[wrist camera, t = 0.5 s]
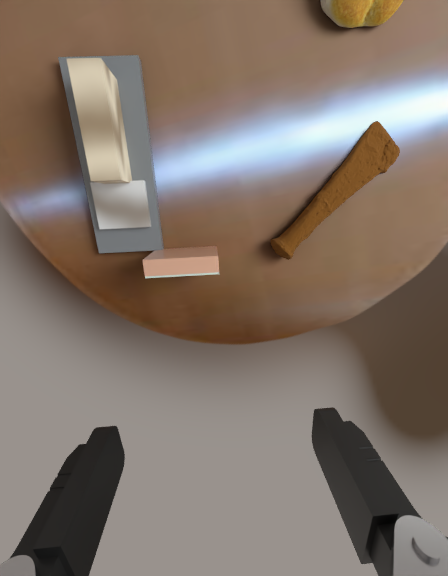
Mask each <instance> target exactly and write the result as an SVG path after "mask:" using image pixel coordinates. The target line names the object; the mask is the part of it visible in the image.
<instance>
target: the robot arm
mask: <svg viewBox="0 0 448 576" xmlns="http://www.w3.org/2000/svg"><path fill="white" fill-rule="evenodd" d="M312 443H313V448H314V451H315V454H316V456H317V459H318V461H319V464H320V466H321V468H322V471H323V473H324V476H325V478H326V480H327V483H328V485H329V488H330V490H331V492H332V495H333V497H334V499H335V502H336V504H337V507H338V509H339V511H340V514H341V516H342V519H343V521H344V524H345V526H346V528H347V531H348V533H349V536H350V538H351V540H352V543H353V545H354V548H355V550H356V552H357V555H358V557H359V560H360V562H361V564H367V563H373V564H374V567H375V569H376V571H377V573H378V575H379V576H448V537H446V536H444V535H443V534H442V533H441V532H440V531H439V530H438V529H437V528H436V527H434V526H433V525H432V524H430V523H429V522H427V521H425V520H424V519H422V518H421V516H420V515H419V514H418V513H417V512H416V510H415V509H414V508H413V506H412V505H411V503H410V502H409V500H408V499H407V497H406V495H405V494H404V492H403V491H402V489H401V488H400V487H399V485H398V483H397V482H396V480H395V479H394V478H393V476H392V474H391V473H390V471H389V470H388V468H387V467H386V465H385V464H384V462H383V461H381V458H380V456H379V455H378V453H377V452H376V450H375V449H373V446H372V444H371V443H370V441H369V440H368V438H367V437H366V435H365V434H364V432H363V431H362V430H360V429H359V428H358V427H357V426H356V425H355V424H354V423H352V422H351V421H346V422H343V420H342V419H341V417H340V415H339V413H338V412H337V410H336V409H335V408H322V409H315V410H314V416H313V427H312ZM124 458H125V457H124V449H123V446H122V442H121V439H120V435H119V432H118V428H117V427H116V426H110V427H98V428H95V429H94V430H93V432H92V434H91V436H90V438H89V439H88V441H87V443H86V444H80V445H79V446H78V447H77V448H76V449H75V450H74V451H73V452H72V453H71V454H70V455H69V456H68V457H67V459H66V461H65V462H64V464H63V466H62V467H61V470H60V471H59V473H58V476H57V478H55V480H54V482H53V484H52V485H51V487H50V491H49V492H48V493H47V494H46V496H45V498H44V500H43V502H42V504H41V505H40V508H39V509H38V511H37V512H36V514H35V516H34V518H33V520H32V522H31V523H30V525H29V527H28V529H27V531H26V532H25V534H24V536H23V538H22V539H21V541H20V543H19V545H18V546H17V548H16V550H15V551H14V553H13V554H12V556H11V557H10V559H8V560H7V561H5V562H3V563H2V564H1V565H0V576H89V573H90V570H91V567H92V564H93V561H94V558H95V555H96V551H97V548H98V545H99V542H100V539H101V536H102V533H103V530H104V527H105V523H106V521H107V518H108V514H109V511H110V508H111V505H112V502H113V499H114V496H115V493H116V490H117V487H118V484H119V480H120V477H121V474H122V471H123V467H124Z"/></svg>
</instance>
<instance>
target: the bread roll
mask: <svg viewBox="0 0 448 576" xmlns="http://www.w3.org/2000/svg"><path fill="white" fill-rule="evenodd" d="M320 1H321V7H322V9H323V11H324V12H325V13H326V15H327V16H328V17H330V18H331V19H332V20H333V21H334V22H335V23H336V24H337V25H338V26H341V27H348V28H354V27H359V26H377V25H381V24H383V23H384V22H386V21H387V20H388V19H389V18H390V17H391V16H392V15H393V14H394V13H395V11H396V10H397V9H398V7H399V6H400V5H401V3H402V2H403V0H320Z"/></svg>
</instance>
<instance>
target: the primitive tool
mask: <svg viewBox="0 0 448 576" xmlns="http://www.w3.org/2000/svg"><path fill="white" fill-rule="evenodd" d="M399 153H400V150H399V147H398V146H397V145H395V142H394V141H393V139H392V138H391V137H390V135H389V134H388V133H387V131H386V130H385V129H384V128H383V126H382V125H381V124H380V123H379V122H378V121H376V122H374V123H373V124H372V125H370V127H369V128H368V130H367V131H366V132H365V133H364V134H363V136H362V137H361V138H360V140H359V141H358V142H357V144H356V145H355V146H354V148H353V149H352V151H351V152H350V154H349V155H348V156H347V158H346V159H345V161H344V162H343V163H342V165H341V166H340V167H339V168H338V169H337V171H336V172H335V173H333V174H332V177H331V179H330V180H329V181H328V182H327V183H326V184H325V186H324V187H323V188H322V189H321V190H320V192H319V193H318V194H317V195H316V196H315V197H314V199H313V200H312V202H311V203H310V204H309V205H308V206H307V207H306V209H305V210H304V211H303V212H302V213H301V214H300V216H299V217H298V218H297V219H296V221H295V222H294V223H293V224H292V225H291V226H290V227H289V228H288V229H287V230H286V231H285V232H284V233H282V234H281V236H280V237H278V238H275V239H271V246H272V248H273V249H274V250H275V253H277V254H278V255H280V257H283V258H286V259H291V258H292V257H293V253H294V251H295V249H296V248H297V247H298V246H299V244H300V243H301V242H302V241H303V240H305V239H306V238H308V236H309V235H310V234H311V233H312V232H313V230H314V229H315V228H316V227H317V226H318V225H319V224H320V223H321V222H322V221H323V220H324V219H325V218H326V217H328V216H329V215H331V213H332V212H333V211H334V210H335V209H337V208H338V207H339V206H340V205H341V204H342V203H344V202H345V200H346V199H348V198H349V197H350V196H352V195H353V194H354V193H355V192H356V191H358V190H359V189H360V188H362V187H363V186H364V185H365V184H367V183H368V182H369V181H371V180H372V179H373V178H374V177H375V176H377V175H378V174H379V173H381V172H382V173H385V172H386V171H387V169H388V168H389V167H390V166H391V165H392V164H393V163H394V162H395V161H396V159H397V157H398V156H399Z"/></svg>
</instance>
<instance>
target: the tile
mask: <svg viewBox="0 0 448 576" xmlns="http://www.w3.org/2000/svg"><path fill="white" fill-rule="evenodd" d="M142 261H143V267H144V274H145V278H159V277H177V276H194V275H211V274H219V262H218V252H217V246H206V247H187V248H168V249H163V250H154V251H153V252H152V253H151V254H149V255H148V256H147V257H146V258H144V259H143V260H142Z"/></svg>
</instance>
